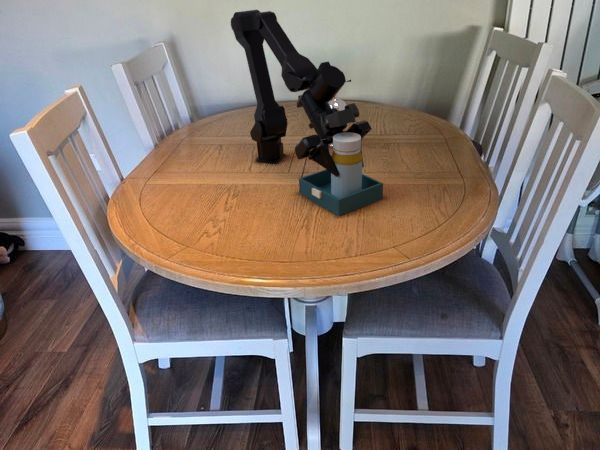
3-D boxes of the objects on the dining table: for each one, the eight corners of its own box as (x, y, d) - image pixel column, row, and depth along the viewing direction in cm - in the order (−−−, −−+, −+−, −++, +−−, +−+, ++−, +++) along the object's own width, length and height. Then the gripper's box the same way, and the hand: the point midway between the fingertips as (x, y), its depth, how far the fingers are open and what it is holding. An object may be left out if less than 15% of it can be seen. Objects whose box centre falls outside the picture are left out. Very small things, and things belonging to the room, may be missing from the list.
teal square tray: (297, 194, 118) (296, 179, 116) (343, 177, 124) (343, 163, 123) (336, 217, 107) (336, 201, 105) (384, 198, 113) (385, 182, 111)
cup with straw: (342, 138, 150) (341, 72, 140) (356, 147, 143) (357, 78, 133) (317, 143, 147) (315, 76, 137) (330, 152, 140) (329, 82, 130)
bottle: (359, 205, 110) (361, 143, 102) (329, 203, 111) (328, 142, 104) (362, 191, 116) (364, 132, 108) (333, 190, 117) (333, 131, 110)
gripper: (299, 101, 100) (333, 167, 98) (367, 85, 109) (399, 145, 107) (281, 128, 110) (311, 189, 107) (345, 111, 119) (374, 167, 116)
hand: (350, 171), depth 109 cm, fingers closed on bottle, 7 cm apart
